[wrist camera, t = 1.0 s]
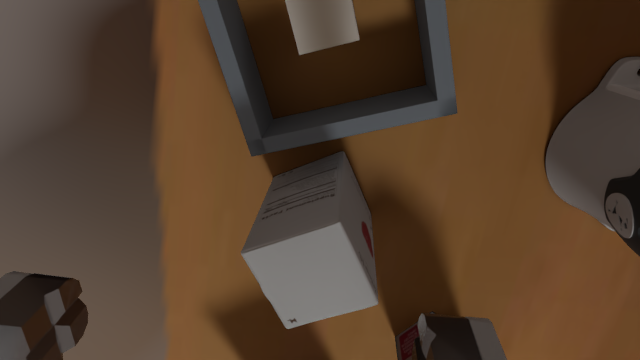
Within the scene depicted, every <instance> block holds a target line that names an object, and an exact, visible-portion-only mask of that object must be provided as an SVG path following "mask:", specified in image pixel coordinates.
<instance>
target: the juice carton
mask: <svg viewBox="0 0 640 360" xmlns="http://www.w3.org/2000/svg"><path fill="white" fill-rule="evenodd" d="M430 314H435V313H434V312H433V311H432V312H431V313H430ZM417 325H418V322H416V323H415V324H414V325H412V326H411V327H409V328H408V329H406V330H405V331H403V332H402V333H400V334H399V335H398V336H396V337H395V341H396V349H397V358H398V360H412V349H413V343H414V339H415V338H417V337H418V336H419V332H418V326H417Z"/></svg>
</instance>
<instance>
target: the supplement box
mask: <svg viewBox="0 0 640 360" xmlns="http://www.w3.org/2000/svg"><path fill="white" fill-rule="evenodd" d="M241 255H242V256H243V258H244V259H245V261H246V263H247V264H248V266H249V268H250V269H251V271H252V273H253V274H254V276H255V278H256V279H257V281H258V283H259V284H260V286H261V289H262V291H263V293H264V295H265V296H266V297H267V299H268V300H269V301H270V303H271V304H272V306H273V308H274V309H275V311H276V313H277V314H278V316H279V318H280V320H281V321H282V323H283V324H284V326H285V328H286V329H290V328H293V327H297V326H300V325H304V324H307V323H311V322H314V321H318V320H322V319H325V318H329V317H333V316H337V315H341V314H345V313H349V312H353V311H357V310H361V309H364V308H368V307H371V306H374V305H377V304H378V291H377V279H376V268H375V257H374V245H373V232H372V219H371V213H370V211H369V208H368V206H367V203H366V201H365V199H364V196H363V194H362V192H361V189H360V187H359V185H358V182H357V180H356V177H355V175H354V173H353V170H352V168H351V166H350V164H349V161H348V159H347V157H346V154H345V152H344V151H341V152H338V153H335V154H333V155H330V156H328V157H325V158H322V159H320V160H317V161H314V162H312V163H309V164H306V165H304V166H301V167H298V168H296V169H293V170H291V171H288V172H285V173H282V174H280V175H277V176H275V177H273V180H272V182H271V185H270V187H269V189H268V192H267V194H266V196H265V199H264V201H263V203H262V206H261V208H260V210H259V213H258V215H257V217H256V220H255V222H254V224H253V227H252V229H251V231H250V234H249V236H248V238H247V240H246V243H245V245H244V247H243V249H242V251H241Z"/></svg>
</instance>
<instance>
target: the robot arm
mask: <svg viewBox="0 0 640 360" xmlns="http://www.w3.org/2000/svg"><path fill="white" fill-rule="evenodd" d="M639 69H640V57H626V58H622V59H620V60H619V61H617V62H616V63H615V64H614V65H613V66H612V67H611V68H610V69H609V71H608V72H607V74H606V75H605V77H604V78H603V80H602V81H601V83H600V84H599V86H598V87H597V88H596V89H595V90H594V91H593V92H592V93H591V94H590V95H589V96H587V97H586V98H585V99H584V100H582V101H581V102H580V103H579V104H577V105H576V106H575V107H574V108H573V109H572V110H571V111H570V112H569V113H568V114H567V115H566V116H565V117H564V119H563V120H562V121H561V122H560V124H559V125H558V127H557V128H556V130H555V132H554V134H553V136H552V138H551V140H550V143H549V146H548V149H547V154H546V173H547V177H548V180H549V183H550V185H551V187H552V188H553V190H554V191H555V193H556V194H557V195H558V196H559V197H560V198H561V199H562V200H564V201H565V202H567V203H568V204H570V205H572V206H574V207H576V208H578V209H580V210H582V211H584V212H586V213H588V214H590V215H591V216H593V217H594V218H596V219H598V221H599V222H600V223H602V224H603V225H604V226H605V227H607V228H608V229H610V230H612V231H616V232H617V234H618V235H619V236H620V237H621V238H622V239H623V241H624V242H625V243H626V244H627V245H628V246H629V247H630V248H631V249H632V250H633V251H634V252H635V253H636V254H638V255H639V256H640V74H639V75H637V72H638V70H639ZM81 293H82V289H81V286H80V282H79V281H78V280H76V279H74V278H67V277H59V276H51V275H43V274H35V273H34V274H31V273H24V272H16V271H13V272H10V273H7V274H5V275H4V276H3V277H1V278H0V360H63V353H64V352H65V351H67V350H69V349H71V348H72V347H74V346H76V344H77V343H78V342H79V340H80V339H81V337H82V336H83V334H84V331H85V329H86V326H87V323H88V311H87V307H86V305H85V304H84V303H83V302H82V301H81V300H80V299H79V298H78V297H79V296H80V294H81ZM417 326H418V332H419V336H418V337H417V338H415V339H414V343H413V349H412V360H507V358H506V356H505V354H504V351H503V349H502V346H501V344H500V341H499V339H498V337H497V334H496V332H495V329H494V327H493V324H492V322H491V321H490V320H489V319H487V318H475V317H462V316H451V315H440V314H429V313H421V315H420V317H419V321H418V325H417Z"/></svg>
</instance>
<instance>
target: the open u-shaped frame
mask: <svg viewBox="0 0 640 360" xmlns="http://www.w3.org/2000/svg"><path fill="white" fill-rule="evenodd" d="M198 2H199V5H200V7H201V10H202V13H203V16H204V19H205V22H206V25H207V28H208V31H209V34H210V37H211V40H212V43H213V45H214V48H215V51H216V54H217V57H218V60H219V63H220V66H221V69H222V72H223V75H224V78H225V80H226V83H227V86H228V89H229V92H230V95H231V98H232V101H233V104H234V107H235V110H236V113H237V116H238V118H239V121H240V124H241V127H242V130H243V133H244V136H245V139H246V142H247V145H248V148H249V151H250V154H251V156H256V155H261V154H266V153H271V152H275V151H280V150H285V149H290V148H295V147H299V146H304V145H309V144H314V143H318V142H323V141H328V140H333V139H337V138H342V137H347V136H352V135H356V134H361V133H366V132H371V131H375V130H380V129H385V128H390V127H395V126H399V125H404V124H409V123H414V122H418V121H423V120H428V119H433V118H437V117H442V116H447V115H452V114H456V113H457V105H456V96H455V87H454V78H453V69H452V60H451V50H450V41H449V32H448V23H447V14H446V5H445V0H415V7H416V14H417V22H418V29H419V36H420V43H421V50H422V58H423V65H424V72H425V79H426V85H424V86H419V87H415V88H410V89H406V90H402V91H397V92H393V93H388V94H384V95H379V96H375V97H370V98H366V99H361V100H357V101H352V102H348V103H344V104H339V105H335V106H330V107H326V108H321V109H317V110H312V111H308V112H303V113H299V114H295V115H290V116H286V117H281V118H277V119H273V117H272V114H271V110H270V107H269V104H268V101H267V97H266V94H265V91H264V88H263V84H262V81H261V78H260V75H259V71H258V68H257V65H256V61H255V58H254V55H253V52H252V48H251V45H250V42H249V39H248V35H247V32H246V29H245V25H244V22H243V19H242V16H241V12H240V9H239V6H238V3H237V0H198Z"/></svg>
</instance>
